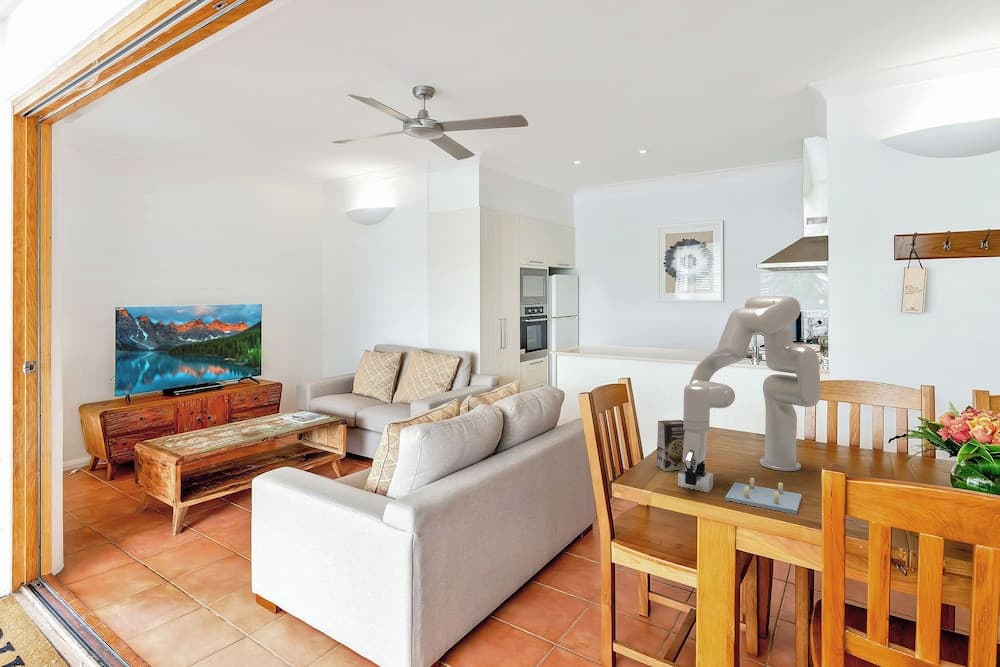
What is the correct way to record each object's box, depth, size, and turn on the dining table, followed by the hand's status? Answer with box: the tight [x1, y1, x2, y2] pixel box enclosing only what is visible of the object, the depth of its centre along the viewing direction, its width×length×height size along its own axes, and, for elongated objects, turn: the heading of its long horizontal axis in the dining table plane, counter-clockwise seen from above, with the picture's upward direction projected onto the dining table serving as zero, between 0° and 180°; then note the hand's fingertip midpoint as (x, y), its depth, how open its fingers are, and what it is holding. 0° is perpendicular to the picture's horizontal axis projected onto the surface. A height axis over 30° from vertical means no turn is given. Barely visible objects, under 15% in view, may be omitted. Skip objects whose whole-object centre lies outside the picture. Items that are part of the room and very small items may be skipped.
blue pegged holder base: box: [724, 477, 803, 516], centre depth 151 cm, size 14×18×4 cm
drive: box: [677, 468, 714, 493], centre depth 162 cm, size 6×9×5 cm, turn 54°
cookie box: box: [656, 419, 686, 472], centre depth 179 cm, size 9×6×16 cm
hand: (695, 479), depth 162 cm, fingers open, 9 cm apart
